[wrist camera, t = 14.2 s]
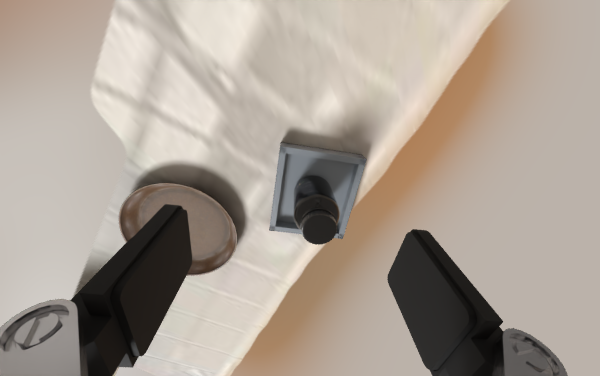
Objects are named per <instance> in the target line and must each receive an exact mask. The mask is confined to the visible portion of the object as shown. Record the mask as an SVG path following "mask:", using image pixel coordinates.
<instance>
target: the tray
mask: <svg viewBox="0 0 600 376" xmlns="http://www.w3.org/2000/svg"><path fill="white" fill-rule="evenodd" d="M366 160H367V159H366V158H365V157H364V156H363V155H360V154H354V153H347V152H341V151H334V150H328V149H321V148H315V147H308V146H302V145H295V144H289V143H282V142H281V145H280V152H279V159H278V167H277V175H276V183H275V190H274V198H273V206H272V213H271V221H270V229H269V230H270V231H279V232H288V233H296V234H302V231H301V230H300V229H299V228H298V227H297V225H296V223H295V221H294V189H295V186H296V184H297V183H298V182H299V181H300V180H301V179H302V178H304V177H307V176H311V175H315V176H320V177H322V178H324V179H325V180H326V181H327V182H328V183H329V184H330V186H331V189H332V191H333V194H334V197H335V199H336V202H337V205H338V207H339V212H340V216H339V221H338V223H337V233H336V235H335V236H334V238H340V239H343V236H344V233H345V229H346V226H347V222H348V219H349V216H350V213H351V209H352V206H353V203H354V200H355V196H356V193H357V190H358V186H359V183H360V180H361V176H362V173H363V170H364V166H365V163H366Z"/></svg>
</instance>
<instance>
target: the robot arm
mask: <svg viewBox="0 0 600 376" xmlns="http://www.w3.org/2000/svg"><path fill="white" fill-rule="evenodd" d="M191 265H192V249H191V240H190V232H189V223H188V214H187V210H184V209H183V207H182V206H181V205H171V204H165V205H164V206H163V207H162V208H161V209H160V210H159V211H158V212H157V213H156V214H155V215H154V216H153V217H152V218H151V219H150V220H149V221H148V222H147V223H146V224H145V225H144V226H143V227H142V228H141V229H140V230H139V231H138V232H137V234H136V235H135V236H133V237H132V238H131V239H130V240H129V241H128V242H127V243H126V244H125V245H124V246H123V247H122V248H121V249H120V250H119V251H118V252H117V253H116V254H115V255H114V256H113V257H112V258H111V259H110V260H109V261H108V262H107V263H106V264H105V265H104V266H103V267H102V268H101V269H100V271H99V272H98V273H97V274H96V275H95V276H94V277H93V278H92V279H91V280H90V281H89V282H88V283H87V284H86V285H85V286H84V287H83V288H82V289H81V290H80V291H79V292H78V293H77V294H76V295H75V296H74V297H73V298H72V299H71V300H64V299H57V300H50V301H46V302H43V303H39V304H37V305H34V306H32V307H30V308H28V309H26V310H24V311H22V312H20V313H19V314H17V315H15V316H14V317H12V318H11V319H10V320H9V321H7V322H6V323H5V324H4V325H2V326H1V327H0V376H113V375H114V373H115V371H116V369H117V368H118V367H133V366H134V364H135V362H136V360H137V358H138V357H139V356H143V355H144V354H145V353H146V351H147V349H148V347H149V346H150V344H151V342H152V340H153V338H154V336H155V334H156V332H157V330H158V328H159V327H160V325H161V323H162V321H163V319H164V317H165V315H166V313H167V311H168V309H169V307H170V306H171V304H172V302H173V300H174V298H175V296H176V294H177V292H178V290H179V288H180V287H181V285H182V283H183V281H184V279H185V277H186V275H187V273H188V271H189V269H190V267H191ZM388 283H389V286H390V288H391V290H392V292H393V295H394V297H395V299H396V302H397V304H398V306H399V308H400V310H401V313H402V315H403V318H404V320H405V322H406V324H407V327H408V329H409V331H410V333H411V336H412V338H413V340H414V342H415V345H416V347H417V349H418V352H419V354H420V356H421V358H422V361H423V363H424V365H425V366H426V368H428V369H429V370H430V371H431V374H432V376H568V375H567V372H566V370H565V368H564V366H563V364H562V363H561V362H560V360H559V359H558V358H557V356H556V355H555V354H554V353H553V352H552V351H551V350H550V349H549V348H548V347H546V346H545V345H544V344H543V343H542V342H540V341H539V340H537V339H536V338H534V337H533V336H531V335H530V334H527V333H525V332H523V331H521V330H517V329H514V328H512V329H506V330H505V331H502V329H501V328H500V327H499V326H500V325H501V324H502V323H503V321H502V319H501V318H500V317H499V316H498V315H497V313H496V312H495V311H494V310H493V309H492V307H491V306H490V305H489V304H488V303H487V301H486V300H485V299H484V298H483V297H482V295H481V294H480V293H479V292H478V291H477V289H476V288H475V287H474V286H473V284H472V283H471V282H470V281H469V280H468V279H467V277H466V276H465V275H464V274H463V272H462V271H461V270H460V269H459V268H458V266H457V265H456V264H455V263H454V262H453V260H452V259H451V258H450V257H449V256H448V254H447V253H446V252H445V251H444V250H443V248H442V247H441V246H440V245H439V243H438V242H437V241H436V240H435V239H434V237H433V236H432V235H431V234H430V233H429V232H428V231H425V230H414V229H413V230H412V231H411V232H409V233H407V234H406V236H405V239H404V241H403V243H402V245H401V247H400V250H399V252H398V255H397V256H396V258H395V261H394V263H393V265H392V267H391V269H390V271H389V274H388Z"/></svg>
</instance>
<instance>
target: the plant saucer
mask: <svg viewBox="0 0 600 376" xmlns="http://www.w3.org/2000/svg"><path fill="white" fill-rule="evenodd" d="M165 204H171V205H181V206H182V207H183V209H184V210H187V214H188V223H189V232H190V240H191V249H192V265H191V267H190V269H189V271H188V273H187V276H194V275H203V274H207V273H210V272H213V271H215V270H218V269H219V268H221V267H222V266H224V265H225V264H226V263H227V262H228V261H229V260H230V259H231V257H232V256H233V254H234V252H235V250H236V246H237V232H236V228H235V225H234V223H233V221H232V219H231V217H230V215H229V214H228V212H227V211H226V210H225V209H224V208H223V206H222V205H221V204H220V203H219V202H217V201H216V200H215V199H214V198H212V197H211V196H209V195H208V194H206V193H204V192H202V191H200V190H198V189H195V188H193V187H189V186H186V185H181V184H173V183H158V184H152V185H148V186H145V187H142V188H140V189H138V190H136V191H134V192H133V193H132V194H130V195H129V196H128V197H127V198H126V200H125V201H124V203H123V204H122V206H121V209H120V212H119V227H120V231H121V233H122V236H123V238H124V240H125V241H126V243H127V242H128V241H129V240H130V239H131V238H132V237H133V236H135V235H136V234H137V232H138V231H139V230H140V229H141V228H142V227H143V226H144V225H145V224H146V223H147V222H148V221H149V220H150V219H151V218H152V217H153V216H154V215H155V214H156V213H157V212H158V211H159V210H160V209H161V208H162V207H163V206H164V205H165Z"/></svg>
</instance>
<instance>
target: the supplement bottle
mask: <svg viewBox="0 0 600 376" xmlns="http://www.w3.org/2000/svg"><path fill="white" fill-rule="evenodd" d="M339 216H340V212H339V207H338V205H337V202H336V199H335V197H334V194H333V191H332V189H331V186H330V184H329V183H328V182H327V181H326V180H325V179H324V178H322V177H320V176H315V175H311V176H307V177H304V178H302V179H301V180H300V181H299V182H298V183H297V184H296V186H295V189H294V221H295V223H296V225H297V227H298V228H299V229H300V230H301V231H302V234H303V237H304V238H305V239H306V240H307V241H309V242H310V243H312V244H324V243H327V242H329V241H330V240H332V239H333V238H334V236H335V235H336V233H337V223H338V221H339Z"/></svg>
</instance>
